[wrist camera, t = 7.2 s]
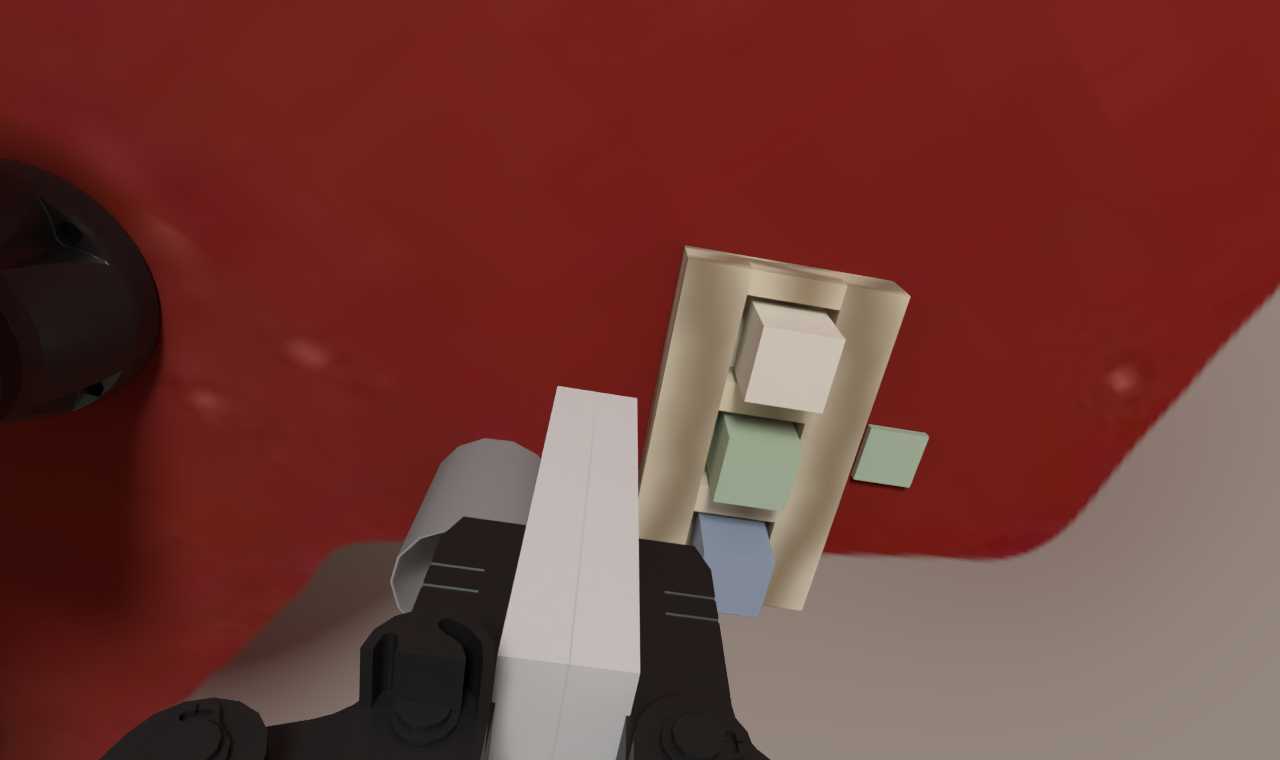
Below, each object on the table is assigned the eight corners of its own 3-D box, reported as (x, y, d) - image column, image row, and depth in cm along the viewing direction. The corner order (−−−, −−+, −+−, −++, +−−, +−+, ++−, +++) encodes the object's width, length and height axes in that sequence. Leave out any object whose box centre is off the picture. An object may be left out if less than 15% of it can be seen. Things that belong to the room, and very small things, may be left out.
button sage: (706, 463, 48) (713, 501, 44) (721, 403, 46) (729, 438, 42) (771, 472, 49) (784, 511, 44) (788, 414, 47) (803, 449, 43)
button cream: (734, 368, 44) (744, 401, 40) (751, 299, 42) (764, 326, 38) (805, 380, 44) (822, 413, 40) (825, 311, 43) (845, 339, 39)
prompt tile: (851, 474, 50) (853, 479, 49) (868, 424, 48) (871, 428, 48) (906, 482, 50) (909, 487, 50) (925, 433, 48) (929, 437, 48)
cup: (561, 447, 49) (545, 538, 40) (551, 545, 52) (534, 650, 43) (435, 432, 48) (389, 521, 39) (433, 533, 52) (390, 636, 42)
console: (620, 558, 53) (620, 586, 50) (684, 245, 43) (688, 258, 40) (793, 582, 54) (801, 610, 51) (893, 281, 44) (910, 296, 41)
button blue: (685, 563, 50) (689, 609, 46) (698, 510, 48) (704, 552, 44) (748, 572, 51) (758, 618, 46) (763, 519, 49) (775, 562, 45)
